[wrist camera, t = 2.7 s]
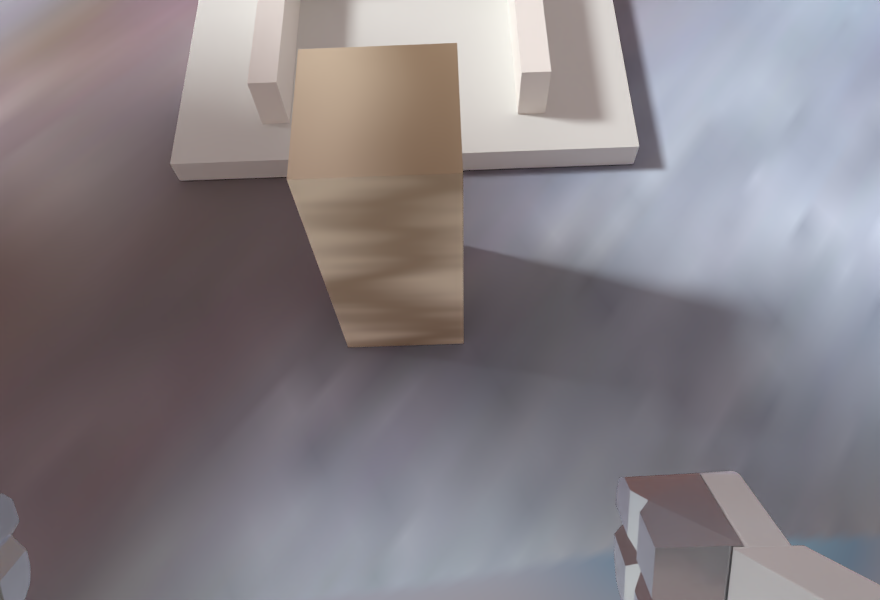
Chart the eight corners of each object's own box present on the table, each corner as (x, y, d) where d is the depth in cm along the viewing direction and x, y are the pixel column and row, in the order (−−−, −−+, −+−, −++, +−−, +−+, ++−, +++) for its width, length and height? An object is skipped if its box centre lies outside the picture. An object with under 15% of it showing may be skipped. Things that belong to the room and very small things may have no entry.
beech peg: (348, 347, 28) (286, 179, 19) (351, 248, 30) (298, 49, 21) (463, 343, 28) (463, 172, 18) (459, 244, 30) (457, 42, 20)
